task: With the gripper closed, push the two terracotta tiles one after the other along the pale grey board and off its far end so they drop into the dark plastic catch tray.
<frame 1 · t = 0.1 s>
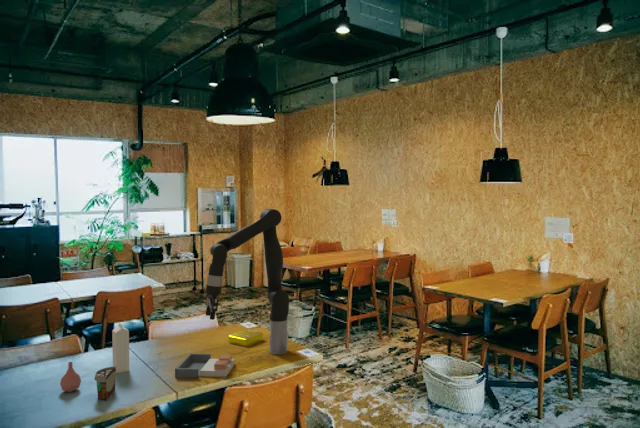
hand: (209, 317, 231), 22 cm above the table, tool pointing down, fingers open, 8 cm apart
milk: (121, 370, 221), on the table
tile outer: (221, 367, 218), point 2 cm above the table, touching board
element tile: (245, 342, 267), on the table
board: (217, 369, 222), on the table
tile inner: (225, 361, 226), point 2 cm above the table, touching board
catch tray: (193, 369, 222), on the table
food container: (103, 396, 193), on the table
pink bulb-shaped piece: (70, 391, 197), on the table
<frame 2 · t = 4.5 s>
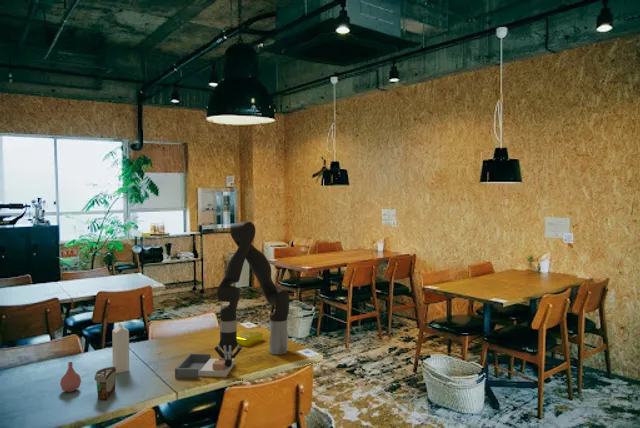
hand: (228, 366, 217), 3 cm above the table, tool pointing down, fingers closed
nothing on the table moved.
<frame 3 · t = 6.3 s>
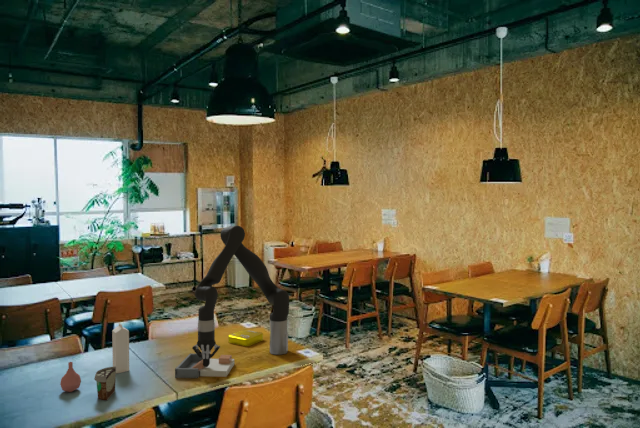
hand: (206, 366, 218), 3 cm above the table, tool pointing down, fingers closed
tile outer: (200, 368, 218), point 2 cm above the table, tilted 36°, touching gripper
everything else where it was.
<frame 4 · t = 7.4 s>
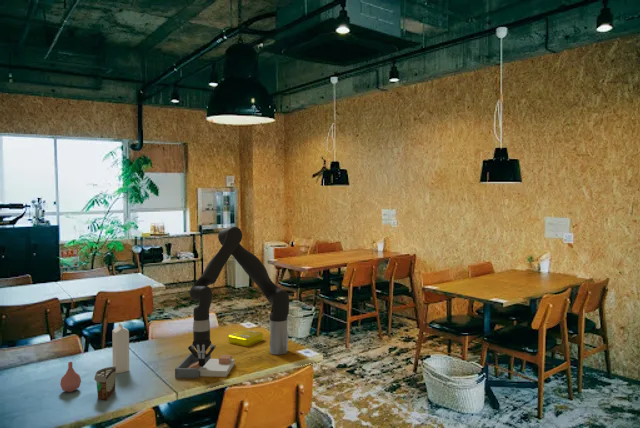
hand: (202, 366, 218), 3 cm above the table, tool pointing down, fingers closed
tile outer: (196, 369, 218), point 2 cm above the table, tilted 25°, touching catch tray, gripper
everything else where it was.
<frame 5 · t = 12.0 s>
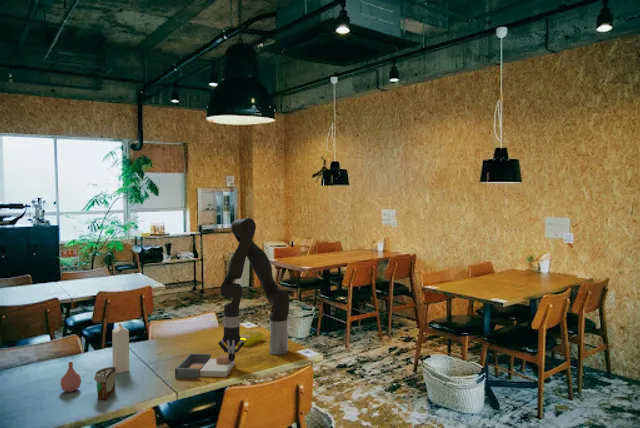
hand: (231, 360, 225), 3 cm above the table, tool pointing down, fingers closed
tile outer: (196, 371, 218), resting on catch tray
tile inner: (223, 361, 226), point 2 cm above the table, touching board, gripper
everything else where it was.
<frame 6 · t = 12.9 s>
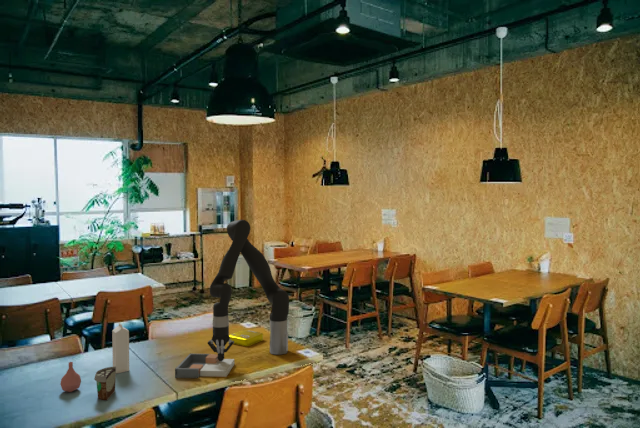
hand: (220, 360, 225), 3 cm above the table, tool pointing down, fingers closed
tile inner: (212, 361, 226), point 2 cm above the table, touching board, gripper
everything else where it was.
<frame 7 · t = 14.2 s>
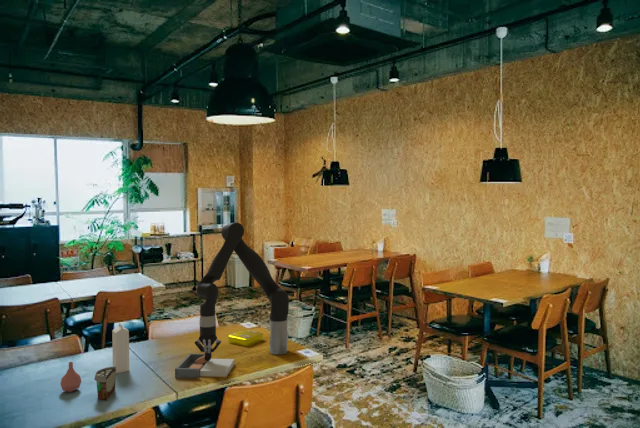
hand: (208, 360, 226), 3 cm above the table, tool pointing down, fingers closed
tile inner: (203, 362, 227), point 2 cm above the table, tilted 25°, touching catch tray, gripper
everything else where it was.
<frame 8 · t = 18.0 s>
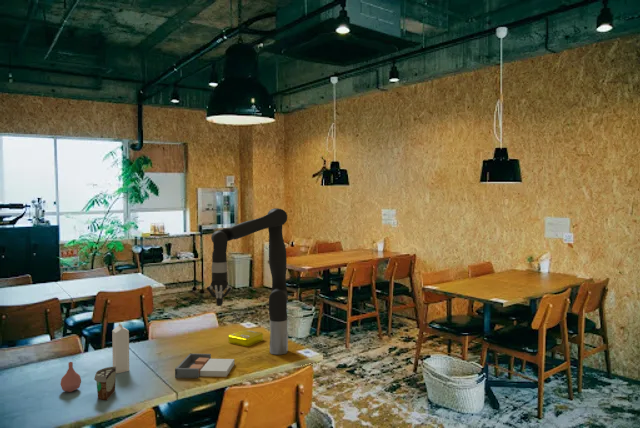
hand: (219, 305, 236), 27 cm above the table, tool pointing down, fingers closed
tile inner: (202, 364, 227), resting on catch tray
everything else where it was.
at the end: tile outer inside the target area (4.8 cm from its centre), point 0.5 cm above the table; tile inner inside the target area (5.8 cm from its centre), point 0.5 cm above the table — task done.
